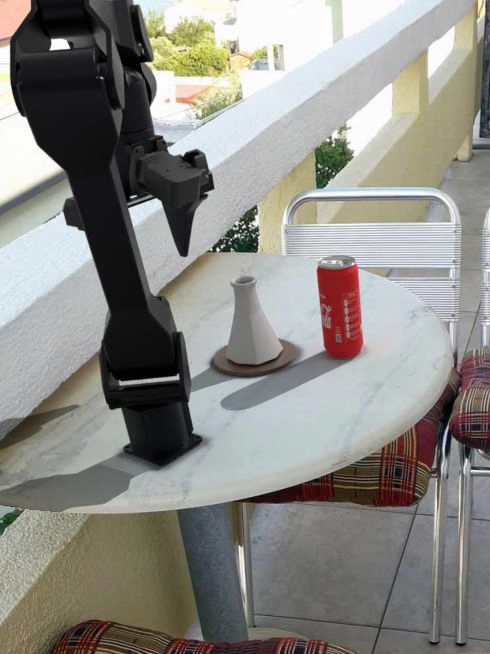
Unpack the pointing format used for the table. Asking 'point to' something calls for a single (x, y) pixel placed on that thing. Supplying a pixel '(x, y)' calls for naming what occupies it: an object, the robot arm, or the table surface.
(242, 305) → the flask
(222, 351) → the coaster
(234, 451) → the table surface
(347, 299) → the beverage can
